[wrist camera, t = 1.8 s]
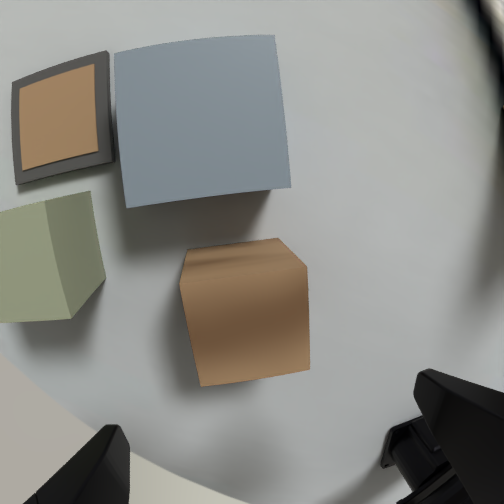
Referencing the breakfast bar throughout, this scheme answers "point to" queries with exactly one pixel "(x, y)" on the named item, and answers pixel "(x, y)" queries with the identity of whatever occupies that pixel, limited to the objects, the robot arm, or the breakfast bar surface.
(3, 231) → the olive cube
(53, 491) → the robot arm
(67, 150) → the mat
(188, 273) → the walnut cube
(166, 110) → the base block
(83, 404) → the breakfast bar surface
